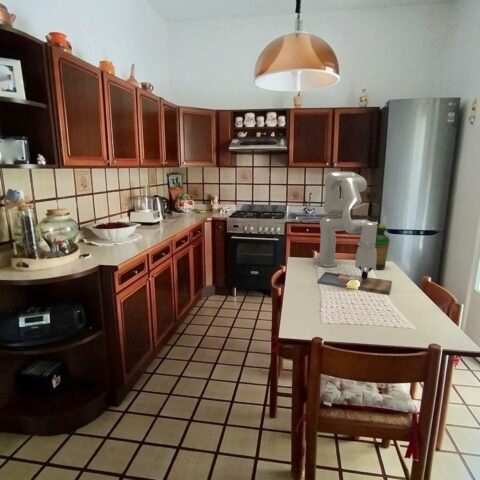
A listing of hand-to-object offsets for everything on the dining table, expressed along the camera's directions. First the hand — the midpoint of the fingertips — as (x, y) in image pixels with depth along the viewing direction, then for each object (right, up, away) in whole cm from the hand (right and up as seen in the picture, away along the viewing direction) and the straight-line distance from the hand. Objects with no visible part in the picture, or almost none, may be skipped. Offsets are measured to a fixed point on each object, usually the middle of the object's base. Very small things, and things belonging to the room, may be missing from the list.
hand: (364, 278), depth 182 cm
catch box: (-11, -2, +6) cm, 12 cm away
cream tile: (-4, -2, +2) cm, 5 cm away
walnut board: (+6, -4, -2) cm, 7 cm away
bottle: (+20, +3, +33) cm, 38 cm away
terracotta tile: (-9, -2, +5) cm, 11 cm away
